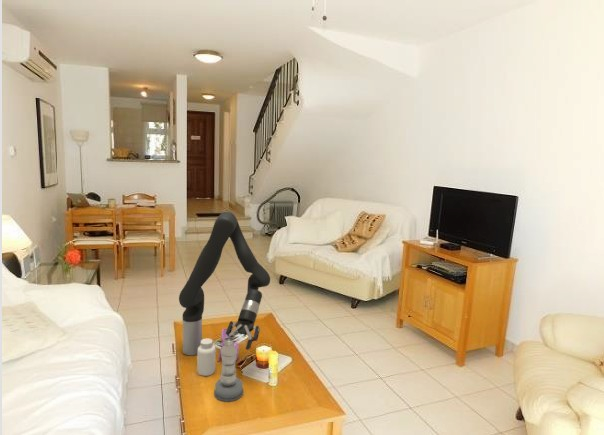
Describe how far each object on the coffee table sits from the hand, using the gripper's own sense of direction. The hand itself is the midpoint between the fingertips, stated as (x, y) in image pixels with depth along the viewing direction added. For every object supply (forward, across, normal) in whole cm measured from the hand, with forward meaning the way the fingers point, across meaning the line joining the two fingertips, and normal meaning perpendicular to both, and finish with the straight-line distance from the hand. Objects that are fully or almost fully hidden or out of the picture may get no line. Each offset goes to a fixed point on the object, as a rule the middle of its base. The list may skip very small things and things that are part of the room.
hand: (237, 347), depth 178 cm
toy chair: (0, -12, +23) cm, 26 cm away
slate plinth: (+18, 0, +5) cm, 18 cm away
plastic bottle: (+15, 0, +3) cm, 15 cm away
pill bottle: (+10, -17, +13) cm, 23 cm away
